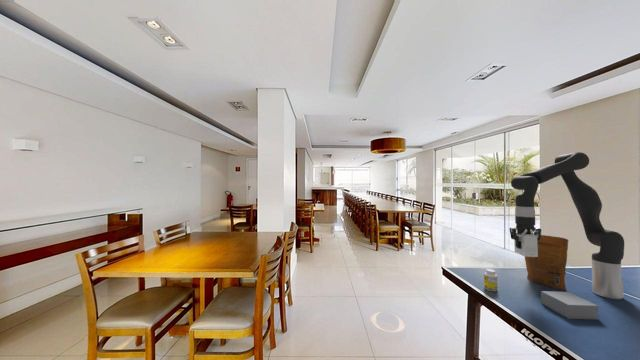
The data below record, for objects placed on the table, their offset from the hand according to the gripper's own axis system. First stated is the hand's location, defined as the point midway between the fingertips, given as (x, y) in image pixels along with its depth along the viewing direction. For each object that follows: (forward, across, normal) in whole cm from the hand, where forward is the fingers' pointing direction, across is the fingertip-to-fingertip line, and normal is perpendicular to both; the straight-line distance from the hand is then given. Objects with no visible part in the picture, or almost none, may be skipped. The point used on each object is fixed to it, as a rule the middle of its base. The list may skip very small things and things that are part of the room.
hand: (525, 248), depth 113 cm
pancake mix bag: (+24, -22, -14) cm, 36 cm away
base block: (+24, -7, +13) cm, 28 cm away
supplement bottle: (+24, +13, -6) cm, 28 cm away
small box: (+3, 0, 0) cm, 3 cm away
